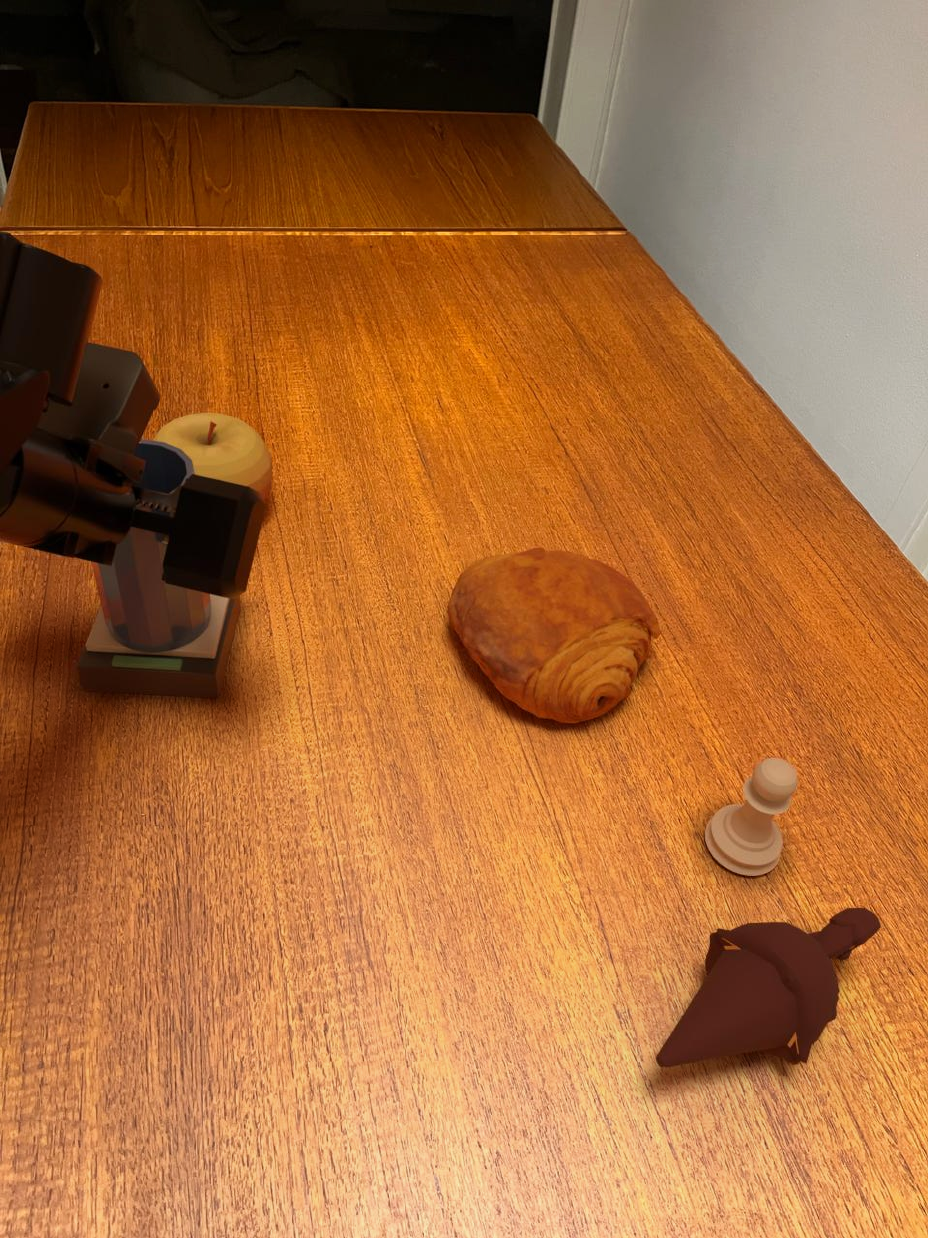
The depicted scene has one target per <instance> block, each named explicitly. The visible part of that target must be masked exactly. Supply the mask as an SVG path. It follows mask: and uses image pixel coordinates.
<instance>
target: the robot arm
mask: <svg viewBox="0 0 928 1238" xmlns="http://www.w3.org/2000/svg"><path fill="white" fill-rule="evenodd" d="M102 278H103V277H102V276H100V274H99V273H98V272H97V271H96V270H94V269H93V268H92V267H90V266H88V265H86V264H83V263H78V262H74V261H71V260H69V259H66V258H64V257H62V256H60V255H58V254H55V253H53V252H50V251H48V250H45V249H43V248H40V247H37V246H34V245H32V244H28V243H25V242H22V241H21V240H20V239H19V238H17V237H16V236H15V235H13V234H12V233H11V232H7V231H1V230H0V542H1V543H5V544H10V545H13V546H18V547H21V548H26V549H27V548H28V549H32V550H35V551H40V552H44V553H49V554H52V555H57V556H61V557H66V558H70V559H74V558H75V559H80V560H83V561H86V562H87V561H88V562H90V563H91V562H95V563H99V564H104V565H109V566H112V563H113V559H114V555H115V551H116V547H117V544H119V543H121V542H122V541H123V540H124V538H125V537H126V535H127V534H128V532H129V531H130V528H131V527H133V528H137V529H141V530H146V531H150V532H154V533H158V534H163V535H164V536H163V540H162V543H165V544H167V548H166V552H165V556H164V561H163V565H162V567H163V575H162V580H163V581H165V583H166V584H170V585H174V586H179V587H183V588H187V589H191V590H195V591H199V592H204V593H208V594H212V595H216V596H220V597H225V598H230V599H235V598H237V597H238V596H241V595H243V594H245V593H246V592H247V588H248V584H249V579H250V576H251V571H252V567H253V565H254V564H253V563H254V560H255V556H256V555H255V554H256V551H257V547H258V543H259V539H260V534H261V530H262V526H263V523H264V519H265V514H266V510H267V505H268V504H267V502H266V499H265V500H264V498H263V497H262V495H261V493H260V492H258V491H256V490H254V489H253V488H251V487H248V486H244V485H240V484H235V483H231V482H226V481H222V480H218V479H213V478H209V477H204V476H200V475H195V474H191V476H190V477H189V478H186V480H185V483H184V484H183V485H181V486H178V487H177V488H176V489H175V490H174V491H173V492H172V493H170V494H167V493H163V492H159V491H154V490H150V489H146V488H141V487H137V486H132V482H134V483H138V484H139V483H140V482H141V480H142V476H143V472H144V468H145V464H146V461H144V460H142V459H140V458H138V457H136V456H134V455H133V454H134V450H135V449H136V447H137V446H138V444H139V442H140V440H141V439H143V436H144V434H145V431H146V429H147V427H148V424H149V423H150V420H151V418H152V416H153V414H154V412H155V411H156V410H157V409H158V407H159V404H160V402H161V394H160V392H159V390H158V388H157V386H156V384H155V382H154V379H153V378H152V376H151V374H150V372H149V370H148V369H147V367H146V365H145V363H144V361H143V359H142V357H141V356H140V355H139V354H138V353H137V352H134V351H131V350H127V349H121V348H117V347H112V346H108V345H103V344H98V343H93V342H89V340H90V336H91V331H92V328H93V324H94V318H95V315H96V312H97V311H96V310H97V306H98V303H99V298H100V294H101V290H102V285H103V279H102ZM139 503H140V506H142V507H145V506H146V504H147V508H150V509H151V508H152V506H153V508H154V509H155V510H158V509H159V507H160V511H163V512H164V511H165V510H166V508H167V512H168V513H169V516H165V515H160V514H156V513H152V512H148V511H143V510H139V509H136V505H139ZM173 509H176V511H174V510H173Z"/></svg>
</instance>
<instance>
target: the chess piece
mask: <svg viewBox="0 0 928 1238" xmlns="http://www.w3.org/2000/svg"><path fill="white" fill-rule="evenodd" d="M798 784H799V778H798V774H797V771H796V769H795V768H794V766H793V765H792V764H791V763H790V762H789V761H787V760H785V759H783V758H781V757H768V758H765V759H763V760H761V761H759V762H758V763H757V764H756V765H755V767H754V769H753V771H752V775H751V776H750V777H748V778H747V779H746V780H745V781H744V783H743V787H742V788H743V790H742V791H743V795H744V798H745V801H744V803H733V804H728V805H725V806H723V807H721V808H720V809H718V810H717V811H716V812H715V813H714V815H713V816H712V818H710V819H709V820H708V822H707V824H706V826H705V830H704V840H705V845H706V846H707V849H708V852H710V854H711V855H712V858H714V859H715V860H716V861H717V862H718V863H719V864H720V865H721V866H723V867H724V868H725V869H727V870H729V871H730V872H733V873H735V874H738V875H743V876H747V877H748V876H749V877H751V876H752V877H754V876H762V875H764V874H768V873H769V872H771V871H772V870H774V869H775V868H776V866H777V865H778V864H779V861H780V858H781V853H782V850H783V847H784V845H783V844H784V841H783V836H782V832H781V830H780V828H779V825H778V824H777V823H776V822H775V821H774V820H773V819H774V818H775V817H776V815H781V814H783V813H786V812H787V811H788V810H789V809H790V807H791V805H792V796H793V795H794V794H795V792H796V790H797V789H798Z"/></svg>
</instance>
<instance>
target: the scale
mask: <svg viewBox="0 0 928 1238" xmlns="http://www.w3.org/2000/svg"><path fill="white" fill-rule="evenodd" d="M240 596H241V595H240ZM240 596H238V597H237V598H235V599H230V598H225V597H220V596H216V595H212V594H210V600H211V608H212V609H211V612H212V614H211V620H210V623H209V625H208V627H207V628H206V630H205V631H204V632H203V633H202V634H201V635H200V636H199V637H198V638H197V639H195V640H194V641H192V642H191V643H189V644H187V645H185V646H183V647H180V648H177V649H174V650H170V651H165V652H141V651H136V650H132V649H129V648H127V647H125V646H123V645H121V644H119V643H118V642H117V641H116V640H115V639H114V638H113V637H112V636H111V634H110V633H109V631H108V628H107V625H106V623H105V619H104V615H103V611H102V606H101V605H100V606H99V609H98V611H97V613H96V616H95V618H94V621H93V624H92V626H91V629H90V631H89V634H88V636H87V639H86V641H85V644H84V647H83V650H82V652H81V655H80V656H79V660H78V663H77V665H76V670H77V673H78V676H79V680H80V684H81V688H82V691H85V692H87V691H88V692H102V693H104V692H105V693H122V694H136V695H139V694H140V695H155V696H171V697H189V698H190V697H192V698H207V699H220V698H219V697H220V694H221V691H222V686H223V682H224V677H225V674H226V669H227V665H228V661H229V657H230V652H231V648H232V644H233V640H234V636H235V633H236V628H237V624H238V619H239V615H240V612H241V608H242V607H241V597H240Z"/></svg>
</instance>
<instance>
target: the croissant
mask: <svg viewBox="0 0 928 1238" xmlns="http://www.w3.org/2000/svg"><path fill="white" fill-rule="evenodd" d="M447 603H448V604H447V608H446V609H447V610H446V612H447V616H448V621H449V624H450V625H451V627H452V628H453V629H454V631H455V632H456V633H457V635H458V637H459V638H460V640H461V643H462V644H463V646H464V647H465V649H466V650H467V651H468V653H469V655H470V659H472V660H473V661H474V662H475V663H477V665H478V666H479V669H480V670H481V671H482V672H483V674H484V675H485V676H486V677H487V678H488V679H489V681H490V682H491V683H493V685H494V688H495V689H496V690H497V691H498V692H499V693H500V694H501V695H502V696H503V697H505V698H506V699H507V700H508V701H509V700H510V701H511V702H513V703H515V705H517V706H518V707H519V708H520V709H522V710H524V711H526V712H528V713H531V714H532V715H534V716H536V718H540V719H550V720H554V721H556V722H558V723H565V724H577V723H579V722H584V721H589V720H593V719H596V718H599V717H602V716H603V715H605V714H607V712H608V711H610V710H611V709H613V708H615V707H616V706H617V705H618V704H619V703H620V702H621V701H622V700H623V699H626V698H627V697H629V695H631V694H630V692H631V690H632V689H630V688H631V685H632V684H633V682H634V680H636V678H637V676H638V671H639V670H640V667H641V665H642V664H643V663H644V662H646V661H647V658H649V657H652V654H651V650H652V649H653V648H652V638H653V639H654V640H657V639H658V638H659V637H660V636H661V629H660V625H659V622H658V621H659V620H658V618H657V616H656V614H655V612H654V610H653V609H652V607H651V605H650V603H649V601H648V600H647V599H646V598H645V596H644V595H643V593H642V591H641V590H640V589H639V588H638V587H637V585H636V584H635V583H634V582H633V581H632V580H631V579H629V577H627V576H626V575H624V574H623V573H621V572H620V571H619V570H617V569H616V568H614V567H612V566H611V565H609V564H607V563H605V562H603V561H601V560H598V559H595V558H590V557H588V556H587V555H584V554H581V553H574V552H572V551H568V550H565V551H564V550H556V549H555V550H546V549H545V547H533V548H531V549H527V550H523V551H520V552H509V553H505V554H497V555H492V556H488V557H484V558H481V559H479V560H476V561H474V562H472V563H470V565H468V567H467V568H466V569H464V570H463V571H462V573H460V574H459V576H458V578H457V582H456V583H455V585H454V587H453V589H452V590H451V594H450V599H449V601H448V602H447Z"/></svg>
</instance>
